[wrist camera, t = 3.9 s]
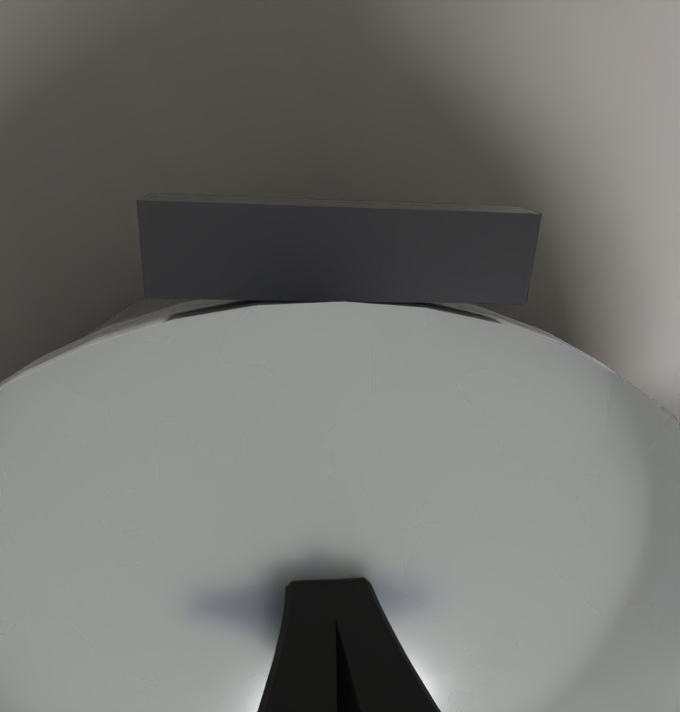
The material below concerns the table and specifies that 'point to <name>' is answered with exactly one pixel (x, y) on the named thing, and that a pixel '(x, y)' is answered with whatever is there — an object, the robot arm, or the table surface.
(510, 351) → the lid
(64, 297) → the table surface
